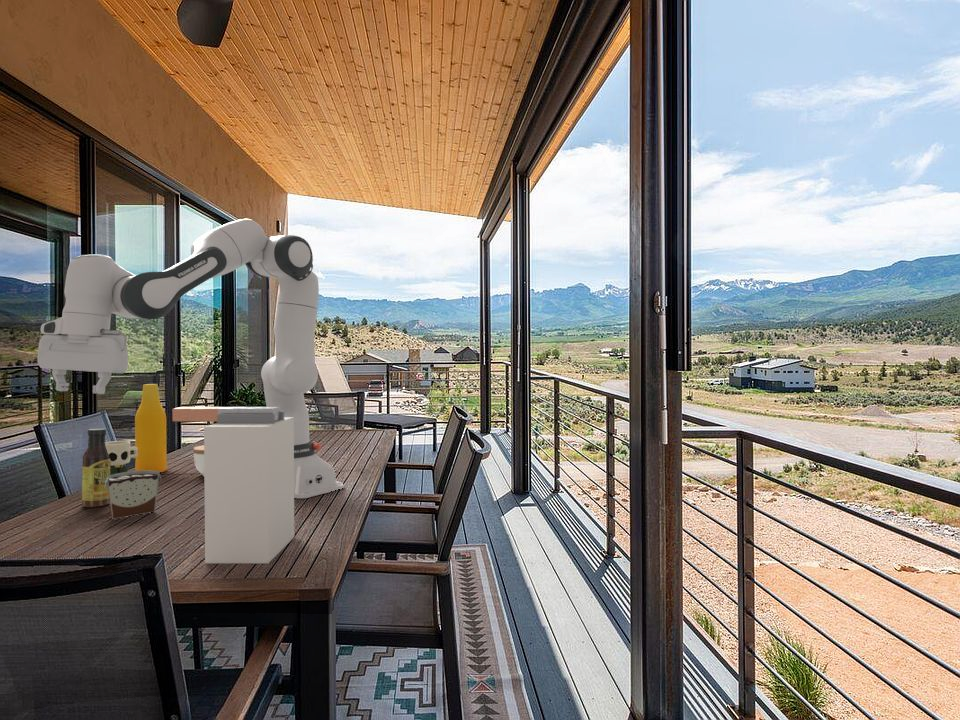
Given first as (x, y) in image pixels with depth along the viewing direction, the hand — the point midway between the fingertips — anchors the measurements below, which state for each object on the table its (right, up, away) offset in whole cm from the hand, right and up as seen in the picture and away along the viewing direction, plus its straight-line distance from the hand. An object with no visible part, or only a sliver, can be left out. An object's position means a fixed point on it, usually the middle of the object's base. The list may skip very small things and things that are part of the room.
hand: (80, 392), depth 130 cm
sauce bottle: (-14, -31, +27) cm, 44 cm away
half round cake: (0, -31, +20) cm, 37 cm away
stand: (+40, -32, -7) cm, 51 cm away
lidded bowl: (0, -30, +66) cm, 72 cm away
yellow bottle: (-23, -30, +71) cm, 80 cm away
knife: (+35, -5, -8) cm, 36 cm away
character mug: (-22, -31, +49) cm, 62 cm away
